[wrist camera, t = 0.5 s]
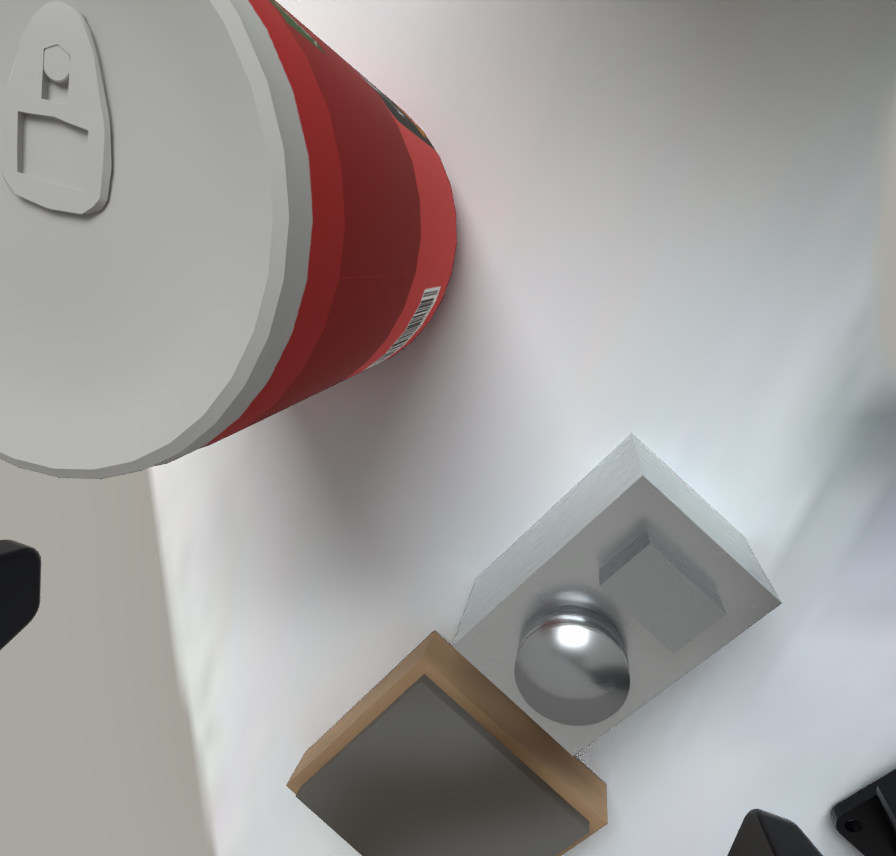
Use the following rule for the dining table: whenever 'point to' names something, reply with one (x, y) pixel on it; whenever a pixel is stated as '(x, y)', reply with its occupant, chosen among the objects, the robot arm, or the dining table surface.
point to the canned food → (196, 227)
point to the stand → (447, 769)
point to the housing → (611, 598)
